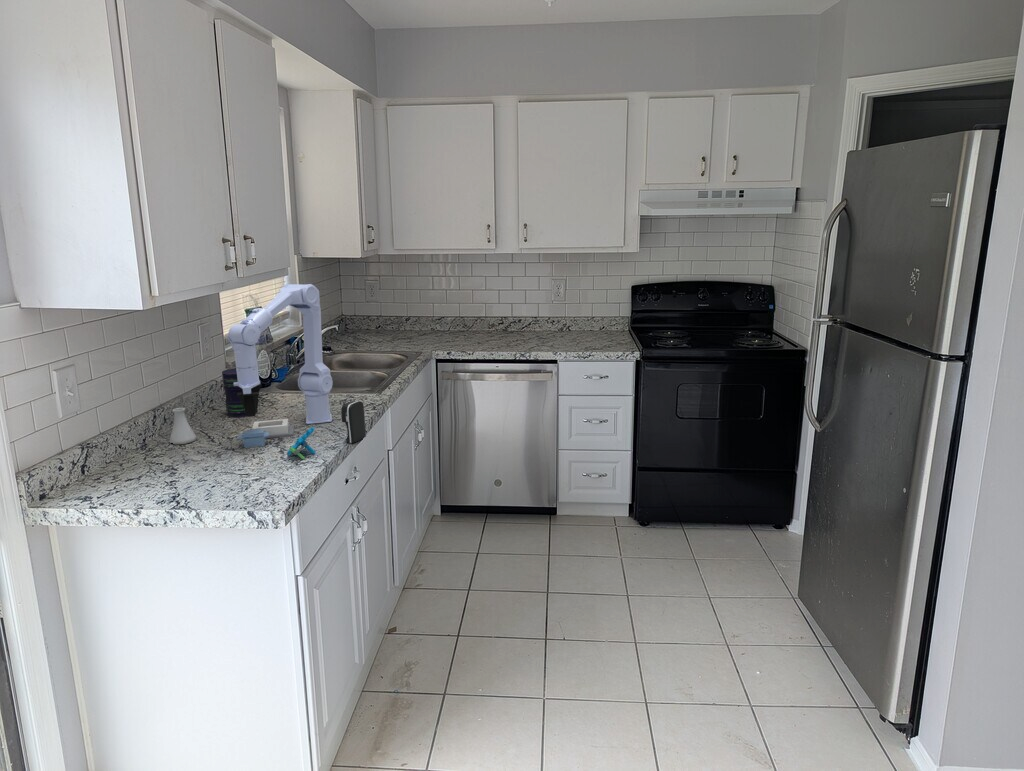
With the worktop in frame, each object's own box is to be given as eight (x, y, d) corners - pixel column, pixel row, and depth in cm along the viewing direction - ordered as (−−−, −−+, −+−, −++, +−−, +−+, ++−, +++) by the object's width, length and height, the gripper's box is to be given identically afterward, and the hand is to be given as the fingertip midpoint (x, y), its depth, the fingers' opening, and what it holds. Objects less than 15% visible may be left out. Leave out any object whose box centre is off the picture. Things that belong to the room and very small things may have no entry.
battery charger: (356, 436, 207) (352, 398, 205) (366, 437, 206) (363, 399, 203) (341, 443, 201) (338, 404, 199) (352, 444, 200) (349, 405, 197)
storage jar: (220, 417, 233) (214, 373, 230) (238, 409, 242) (233, 367, 239) (246, 418, 231) (241, 374, 227) (264, 410, 240) (259, 367, 236)
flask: (202, 438, 210) (197, 406, 208) (184, 446, 203) (180, 412, 201) (181, 437, 212) (177, 405, 210) (164, 444, 205) (159, 411, 203)
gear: (297, 441, 198) (316, 419, 194) (313, 455, 199) (332, 434, 195) (277, 459, 188) (296, 437, 184) (293, 474, 189) (313, 452, 185)
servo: (240, 444, 203) (238, 431, 202) (270, 441, 205) (269, 428, 204) (238, 448, 200) (237, 435, 199) (269, 445, 202) (268, 432, 201)
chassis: (250, 431, 216) (249, 421, 215) (294, 426, 219) (293, 417, 218) (247, 440, 206) (246, 430, 206) (293, 435, 210) (292, 425, 209)
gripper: (234, 362, 203) (240, 408, 206) (228, 372, 189) (234, 420, 192) (260, 361, 205) (265, 405, 208) (256, 370, 191) (261, 418, 194)
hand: (252, 413), depth 200 cm, fingers open, 7 cm apart
